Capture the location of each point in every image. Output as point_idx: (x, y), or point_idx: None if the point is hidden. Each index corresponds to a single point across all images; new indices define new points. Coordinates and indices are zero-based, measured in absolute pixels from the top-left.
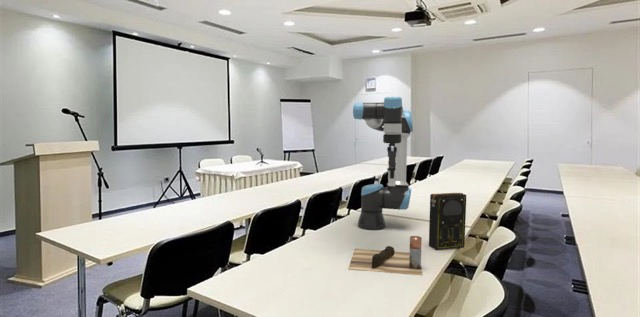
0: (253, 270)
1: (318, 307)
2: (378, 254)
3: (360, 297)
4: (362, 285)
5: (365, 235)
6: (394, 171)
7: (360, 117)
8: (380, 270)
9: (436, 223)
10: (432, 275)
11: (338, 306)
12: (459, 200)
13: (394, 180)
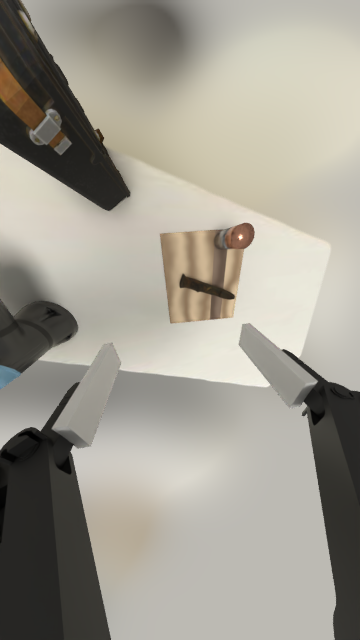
0: (238, 375)
1: (305, 320)
2: (224, 293)
3: (295, 294)
4: (270, 297)
5: (107, 321)
6: (309, 379)
7: None
8: (235, 285)
9: (109, 166)
10: (246, 211)
11: (307, 308)
12: None
13: (265, 340)
